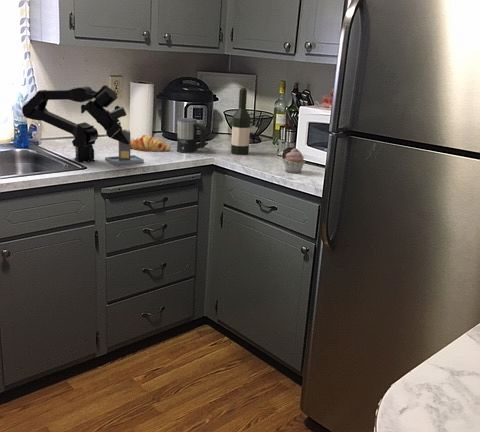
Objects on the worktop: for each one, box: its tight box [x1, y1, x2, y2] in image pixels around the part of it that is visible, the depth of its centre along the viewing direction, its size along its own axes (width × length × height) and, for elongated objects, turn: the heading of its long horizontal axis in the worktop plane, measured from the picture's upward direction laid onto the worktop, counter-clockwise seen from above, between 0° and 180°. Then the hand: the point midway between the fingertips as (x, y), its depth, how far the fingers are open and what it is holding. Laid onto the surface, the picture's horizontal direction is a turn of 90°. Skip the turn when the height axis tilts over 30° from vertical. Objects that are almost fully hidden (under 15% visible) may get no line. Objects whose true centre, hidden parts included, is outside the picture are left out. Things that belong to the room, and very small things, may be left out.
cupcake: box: [282, 147, 306, 174], centre depth 233 cm, size 9×9×10 cm
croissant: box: [130, 134, 172, 152], centre depth 260 cm, size 21×10×8 cm, turn 85°
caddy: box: [118, 129, 131, 161], centre depth 231 cm, size 4×5×13 cm
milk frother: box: [176, 117, 209, 154], centre depth 263 cm, size 14×16×15 cm
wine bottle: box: [230, 87, 252, 156], centre depth 260 cm, size 8×8×30 cm
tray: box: [104, 154, 145, 166], centre depth 233 cm, size 13×9×2 cm
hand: (127, 141), depth 231 cm, fingers open, 9 cm apart
